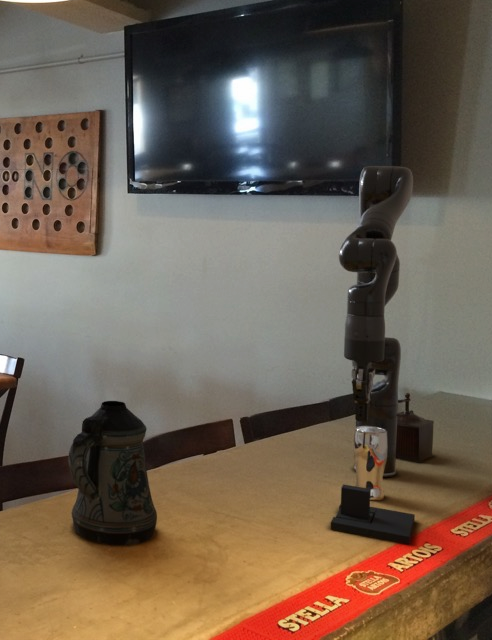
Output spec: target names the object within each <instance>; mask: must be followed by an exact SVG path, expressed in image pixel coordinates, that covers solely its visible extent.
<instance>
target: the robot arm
mask: <svg viewBox="0 0 492 640" xmlns="http://www.w3.org/2000/svg"><path fill="white" fill-rule="evenodd" d="M358 186H359V189H358V190H359V191H358V197H359V198H358V199H359V200H358V201H359V204H358V206H359V207H358V208H359V221H358V223H357V227H356V228H355V229H354V230H353V231H352V232H351V233H349V235H347V236H346V237H345V238H344V240H343V242H342V243H341V244H340V247H339V250H338V262H339V264H340V266H341V267H342V268H343V269H344V270H345V271H347V272H350V273H356V284H353V285H350V286H349V287H348V289H347V295H346V296H347V297H346V317H345V322H344V338H343V339H344V340H343V341H344V343H343V357H344V358H345V359H346V360H349V361H351V366H352V368H351V378H352V380H351V386H352V400H353V402H354V403H355V412H354V413H355V414H354V417H355V418H354V419H355V427H357V426H374V427H379V428H383V429H385V430H387V441H388V451H387V460H386V465H385V469H384V473H383V478H390V477H394V476H396V475H397V470H396V466H397V465H396V464H397V463H396V462H397V460H396V459H397V458H396V440H397V414H398V410H399V409H398V407H399V403H398V400H399V382H400V381H399V379H400V371H401V370H400V369H401V359H402V347H401V343H400V341H399V340H398V339H397V338H395V337H386V321H385V309H386V308H385V307H386V306H387V304H389V302H390V301H391V300H392V299H393V297H394V296H395V295H396V293H397V291H398V289H399V286H400V283H399V282H400V271H401V269H400V267H401V266H400V265H401V261H400V257H399V255H398V250H397V247H396V245H395V243H394V242H393V241H392V239H393V235H394V232H395V227H396V225H397V223H398V221H399V219H400V217H401V216H402V215H403V213H404V212H405V210H406V209H407V207H408V205H409V203H410V201H411V198H412V195H413V189H414V187H413V186H414V177H413V172H412V170H411V169H410V168H409V167H405V166H397V165H366V166H364V167H363V168H362V170H361V172H360V175H359V185H358ZM375 376H384V377H383V378H382V379H381V380H379V381H380V382H379V381H377V382H378V383H377V382H376V384H375V383H374V377H375ZM352 451H353V454H354V449H353V450H352ZM353 470H354V471H355V472H356V467H355V461H354V463H353Z"/></svg>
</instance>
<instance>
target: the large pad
mask: <svg viewBox="0 0 492 640" xmlns="http://www.w3.org/2000/svg"><path fill="white" fill-rule="evenodd" d="M340 508H341V503H340V504H339V506H338V511H339V510H340ZM370 513H374V518H373V521H372V523H371V524H370V523H364V522H359V521H354V520H348V519H343V518H337V517H336V516H333V517H332V519H331V521H330V530H332V531H338V532H342V533H347V534H348V533H349V534H353V535H358V536H363V537H367V538H368V537H369V538H373V539H379V540H385V541H389V542H394V543H400V544H405V545H410V541H411V538H412V533H413V530H414V529H413V528H414V525H415V518H416V517H415V515H416V514H415V513H409V512H404V511H398V510H392V509H386V508H380V507H375V506H370Z"/></svg>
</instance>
